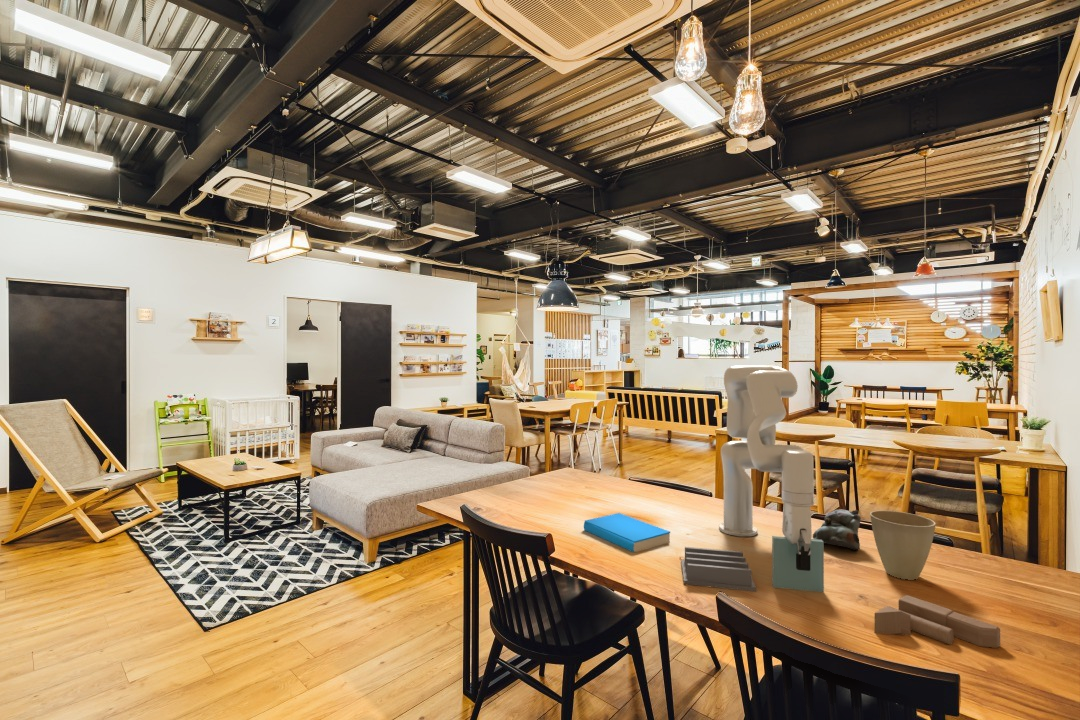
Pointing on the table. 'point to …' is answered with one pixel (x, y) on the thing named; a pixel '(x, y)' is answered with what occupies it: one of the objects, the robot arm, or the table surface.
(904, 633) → the wooden block set
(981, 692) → the table surface
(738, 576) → the dish rack
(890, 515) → the plant pot
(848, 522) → the grey lumpy mound
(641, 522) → the book
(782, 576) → the thin teal board
